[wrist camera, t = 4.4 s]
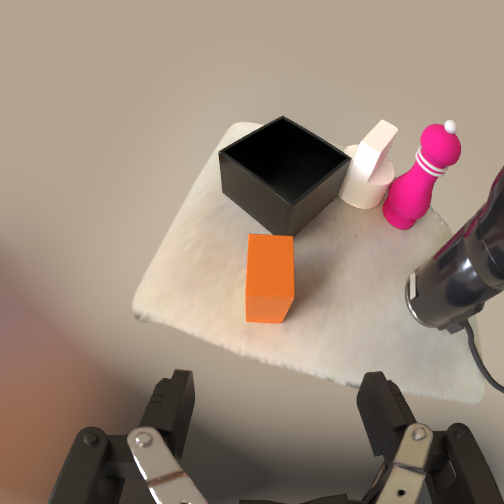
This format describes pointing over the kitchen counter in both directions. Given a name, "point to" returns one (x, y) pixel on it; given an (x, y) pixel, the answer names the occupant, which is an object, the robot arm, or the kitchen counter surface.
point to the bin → (282, 175)
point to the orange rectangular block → (269, 278)
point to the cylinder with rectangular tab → (369, 168)
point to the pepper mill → (422, 176)
